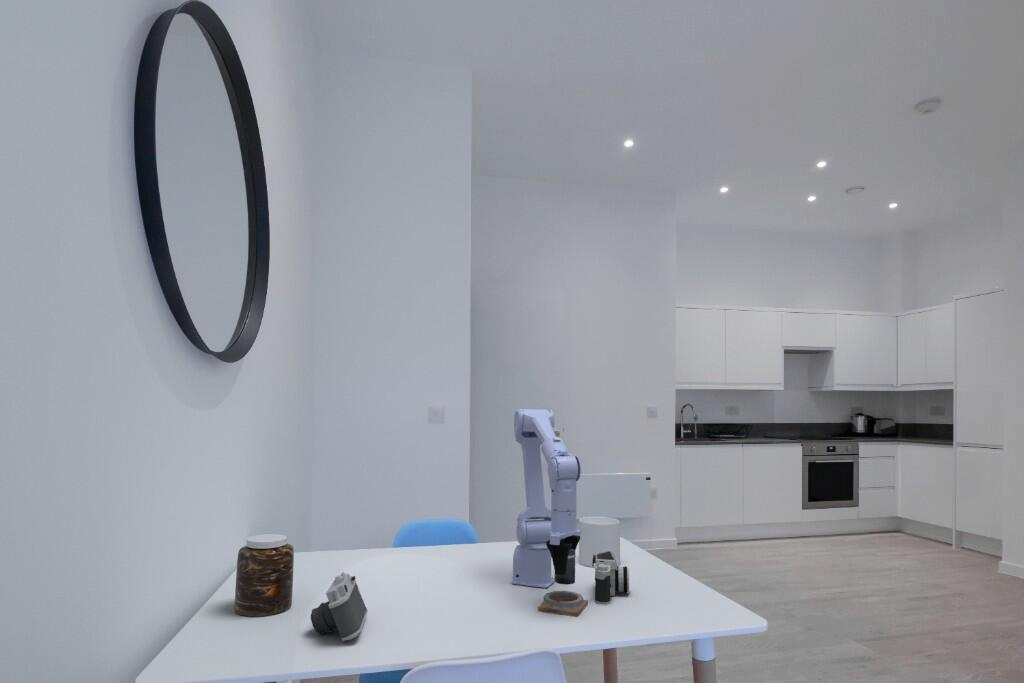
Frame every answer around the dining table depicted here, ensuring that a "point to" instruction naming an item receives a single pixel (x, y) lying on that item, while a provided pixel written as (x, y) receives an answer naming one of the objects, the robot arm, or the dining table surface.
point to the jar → (264, 576)
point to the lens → (568, 570)
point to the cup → (598, 538)
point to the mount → (563, 603)
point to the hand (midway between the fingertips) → (563, 571)
